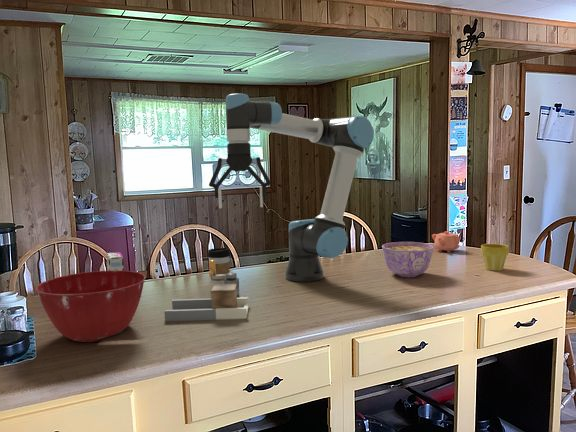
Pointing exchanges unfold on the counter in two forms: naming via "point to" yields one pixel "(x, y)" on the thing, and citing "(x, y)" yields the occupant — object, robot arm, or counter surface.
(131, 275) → the mixing bowl
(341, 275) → the counter surface
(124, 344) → the counter surface
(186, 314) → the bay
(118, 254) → the candy bar box
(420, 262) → the bowl of food
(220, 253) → the coffee cup
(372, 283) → the counter surface
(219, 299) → the crate
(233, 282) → the winch
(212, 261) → the crank
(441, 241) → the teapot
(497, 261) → the plant pot
